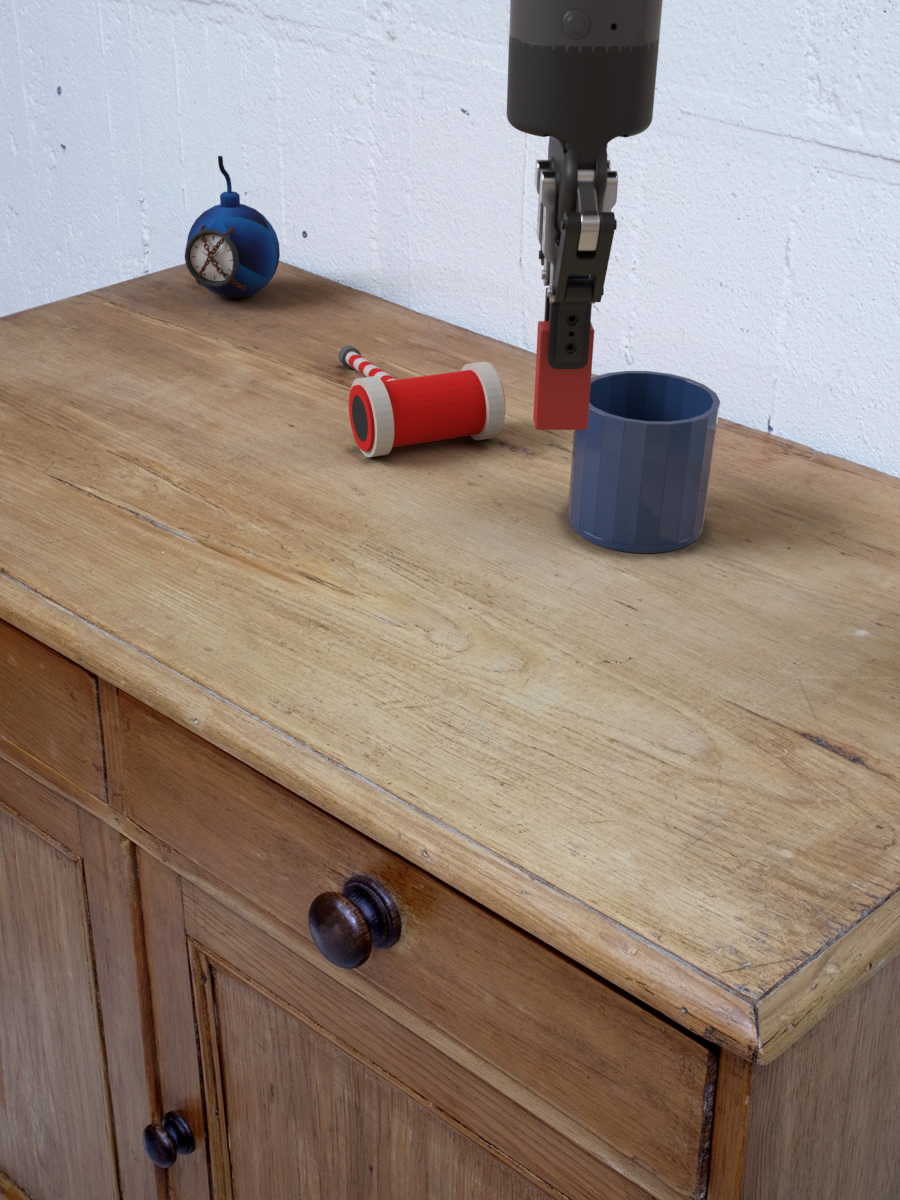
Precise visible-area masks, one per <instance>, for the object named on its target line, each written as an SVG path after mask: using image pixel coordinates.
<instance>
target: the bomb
mask: <svg viewBox="0 0 900 1200" xmlns="http://www.w3.org/2000/svg"><path fill="white" fill-rule="evenodd" d="M217 163H218V169H219V171H220V173H221V174H222V176H223V177H224V179H225V183H226V191H223V192H221V193H220V195H219V202H220V204H215V205H213V206H211V207H210V208H208V209H206V210H204V211H203V212H202V213H201V214H200V215H199V216H198V217H197V218H196V219H195V220H194V222H193V224H192V225H191V227H190V230H189V232H188V235H187V238H186V239H187V240H186V244H185V245H186V246H185V251H184V262H185V266H186V268H187V270H188V272H189V273H190V275H191V276H192V277H193V278H194V279H195V281H196V283H197V284H198V285H199V286H202V287H204V288H205V289H207V290H208V291H209V292H211V293H212V294H215V295H217V296H220V297H223V298H228V299H243V298H247V297H251V296H253V295H255V294H256V293H258V292H261V291H262V290H263V289H264V288H265V287H267V285H268V284H269V283H271V281H272V279H273V278H274V276H275V275H276V272H277V269H278V266H279V263H280V258H281V257H280V256H281V253H280V250H281V249H280V242H279V238H278V234H277V232H276V231H275V229H274V226H273V225H272V224H271V222H270V221H269V220H268V219H267V217H266V216H265V215H264V214H262V213H261V212H259V211H258V210H257V209H256V208H255V207H254V208H253V207H251V206H249V205H247V204H243V203H241V197H240V196H241V195H240V193H238V192H237V191H233V190H232V187H233V186H232V179H231V176H230V174H229V173H228V171H227V169H226V167H225V165H224V158H223V155H218V156H217Z"/></svg>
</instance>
